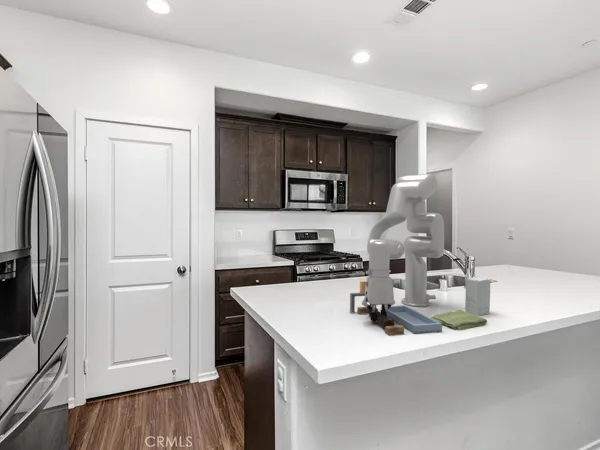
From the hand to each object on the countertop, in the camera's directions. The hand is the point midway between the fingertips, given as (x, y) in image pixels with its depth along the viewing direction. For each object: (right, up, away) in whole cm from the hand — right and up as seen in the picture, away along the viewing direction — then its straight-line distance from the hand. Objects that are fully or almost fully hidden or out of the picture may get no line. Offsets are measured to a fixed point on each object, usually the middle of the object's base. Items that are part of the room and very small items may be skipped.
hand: (378, 321), depth 121 cm
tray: (+12, -1, +1) cm, 12 cm away
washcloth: (+31, -1, +1) cm, 31 cm away
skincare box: (+45, -1, +13) cm, 47 cm away
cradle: (0, -1, 0) cm, 1 cm away
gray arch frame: (-3, 0, +14) cm, 14 cm away
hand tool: (0, -1, 0) cm, 1 cm away
